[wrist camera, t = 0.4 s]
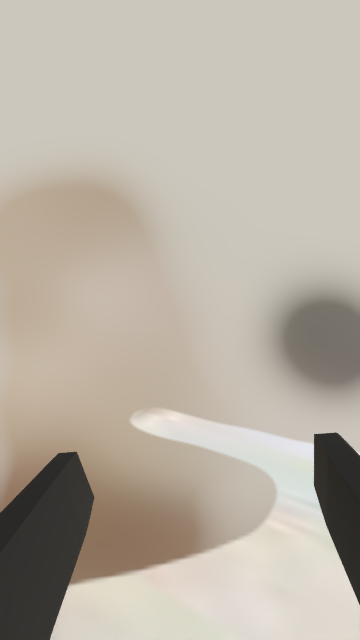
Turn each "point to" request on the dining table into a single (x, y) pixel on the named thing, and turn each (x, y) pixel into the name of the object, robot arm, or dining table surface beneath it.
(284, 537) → the dining table surface
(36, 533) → the robot arm
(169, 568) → the dining table surface
